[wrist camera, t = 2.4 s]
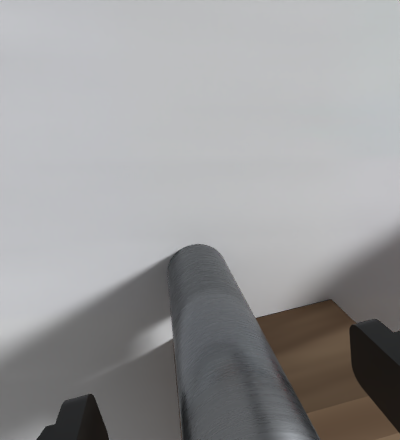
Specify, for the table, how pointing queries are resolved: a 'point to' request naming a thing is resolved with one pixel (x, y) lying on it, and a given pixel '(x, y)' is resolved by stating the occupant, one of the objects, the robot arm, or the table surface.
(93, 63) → the table surface
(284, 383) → the pin
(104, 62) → the table surface
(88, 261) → the table surface
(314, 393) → the socket block
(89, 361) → the table surface
